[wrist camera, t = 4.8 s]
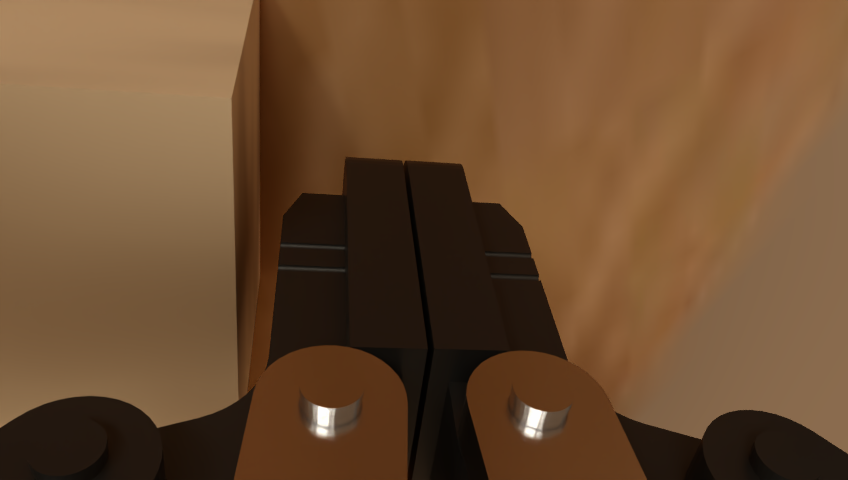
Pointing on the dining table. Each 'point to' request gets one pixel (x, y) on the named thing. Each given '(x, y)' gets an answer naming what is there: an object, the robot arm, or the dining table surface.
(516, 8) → the dining table surface
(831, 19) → the dining table surface
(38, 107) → the cream long bar
